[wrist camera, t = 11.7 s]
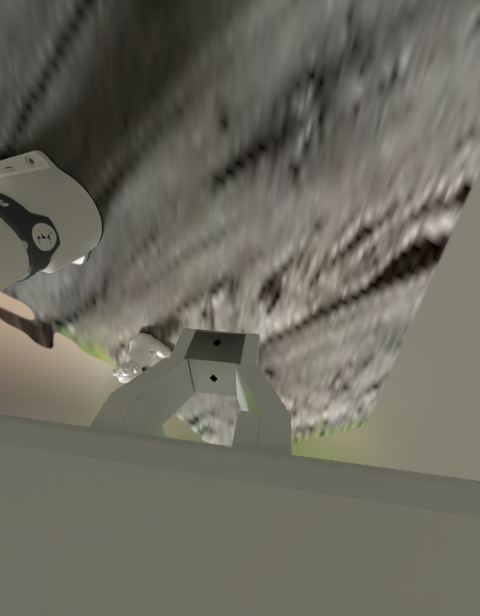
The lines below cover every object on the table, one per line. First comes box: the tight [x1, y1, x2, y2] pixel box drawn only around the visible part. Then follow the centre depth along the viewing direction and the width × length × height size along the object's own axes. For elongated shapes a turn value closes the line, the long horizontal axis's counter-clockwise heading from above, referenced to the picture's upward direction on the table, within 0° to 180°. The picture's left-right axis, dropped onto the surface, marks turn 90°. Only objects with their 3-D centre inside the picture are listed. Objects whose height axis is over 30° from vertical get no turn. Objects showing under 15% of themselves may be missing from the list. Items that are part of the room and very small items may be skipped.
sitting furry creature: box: [111, 333, 172, 383], centre depth 57 cm, size 10×9×12 cm
